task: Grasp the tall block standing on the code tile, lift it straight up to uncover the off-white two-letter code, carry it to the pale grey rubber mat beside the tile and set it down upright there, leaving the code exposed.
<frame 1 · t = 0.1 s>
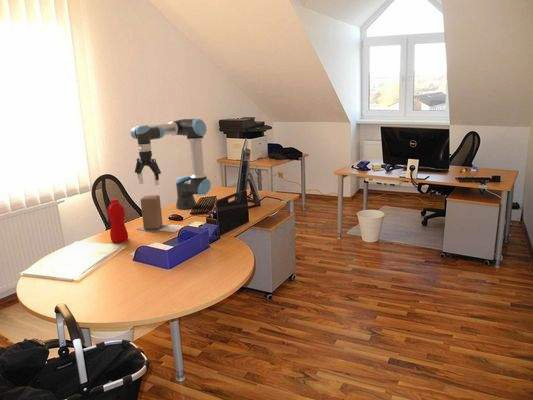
hand: (149, 184, 278), 28 cm above the table, fingers open, 13 cm apart
block: (153, 227, 284), resting on code tile
mat: (172, 228, 280), on the table
code tile: (153, 227, 284), on the table
water bottle: (121, 240, 262), on the table
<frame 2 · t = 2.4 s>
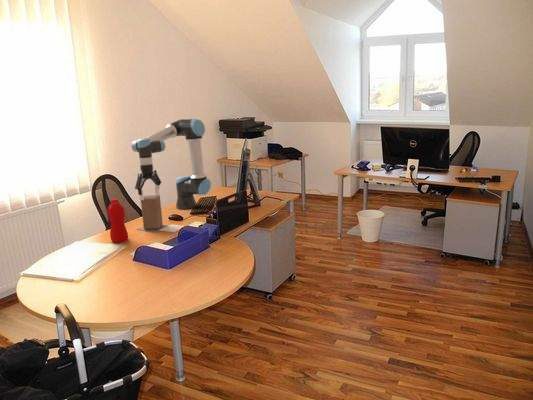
hand: (149, 197, 279), 20 cm above the table, fingers open, 13 cm apart
block: (153, 227, 284), resting on code tile, touching gripper
everything else where it was.
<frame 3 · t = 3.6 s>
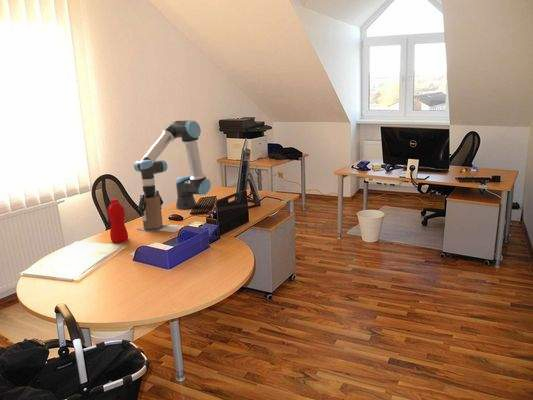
hand: (152, 217, 282), 7 cm above the table, fingers open, 13 cm apart
block: (153, 227, 284), resting on code tile, touching gripper, hand
everything else where it was.
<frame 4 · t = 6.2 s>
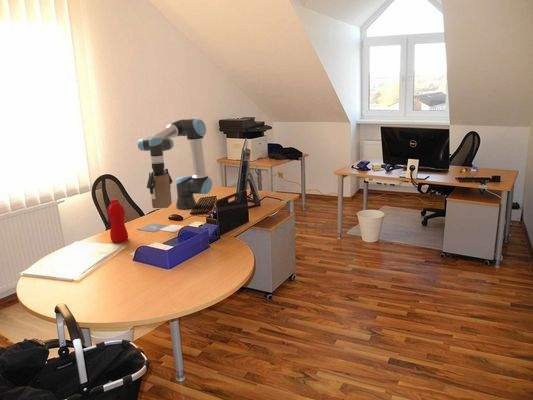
hand: (161, 196, 276), 21 cm above the table, fingers closed on block, 13 cm apart
block: (162, 206, 278), point 14 cm above the table, touching gripper, hand
everything else where it was.
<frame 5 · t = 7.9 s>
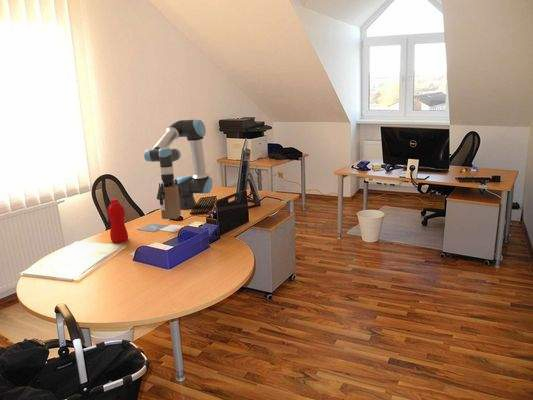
hand: (170, 207, 276), 14 cm above the table, fingers closed on block, 13 cm apart
block: (171, 217, 278), point 7 cm above the table, touching gripper, hand
everything else where it was.
when the fingers open (7 cm above the table, at t = 9.7 s): block stays where it is, resting on mat.
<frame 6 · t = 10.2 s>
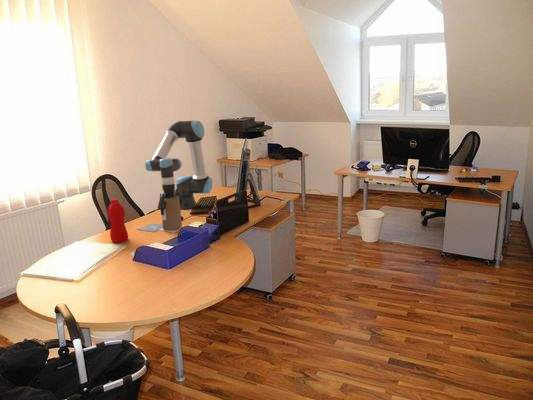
hand: (171, 216, 278), 8 cm above the table, fingers open, 13 cm apart
block: (172, 228, 280), resting on mat
everything else where it was.
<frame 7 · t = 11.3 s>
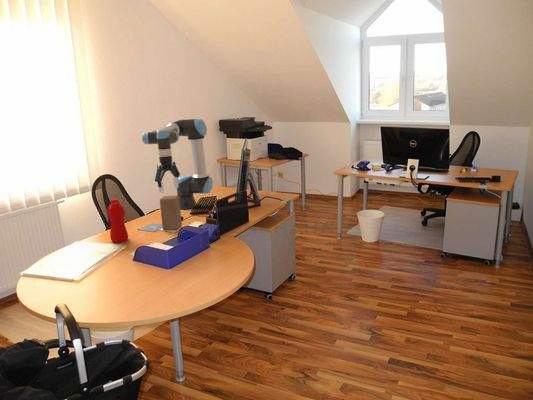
hand: (169, 189, 274), 25 cm above the table, fingers open, 13 cm apart
nothing on the table moved.
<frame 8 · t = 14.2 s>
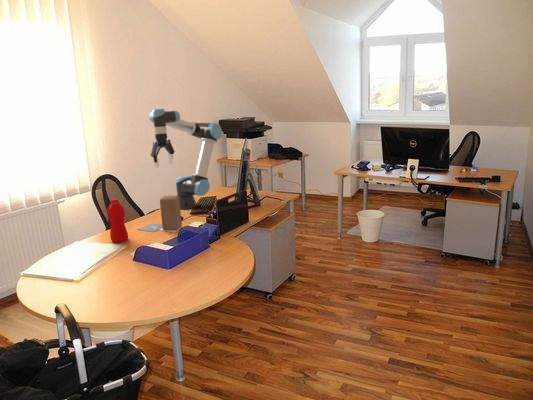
hand: (164, 165, 294), 37 cm above the table, fingers open, 13 cm apart
nothing on the table moved.
at the end: block inside the target area on the mat (0.2 cm from its centre), point 0.2 cm above the mat's base; block tilted 0°; block touching mat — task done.
